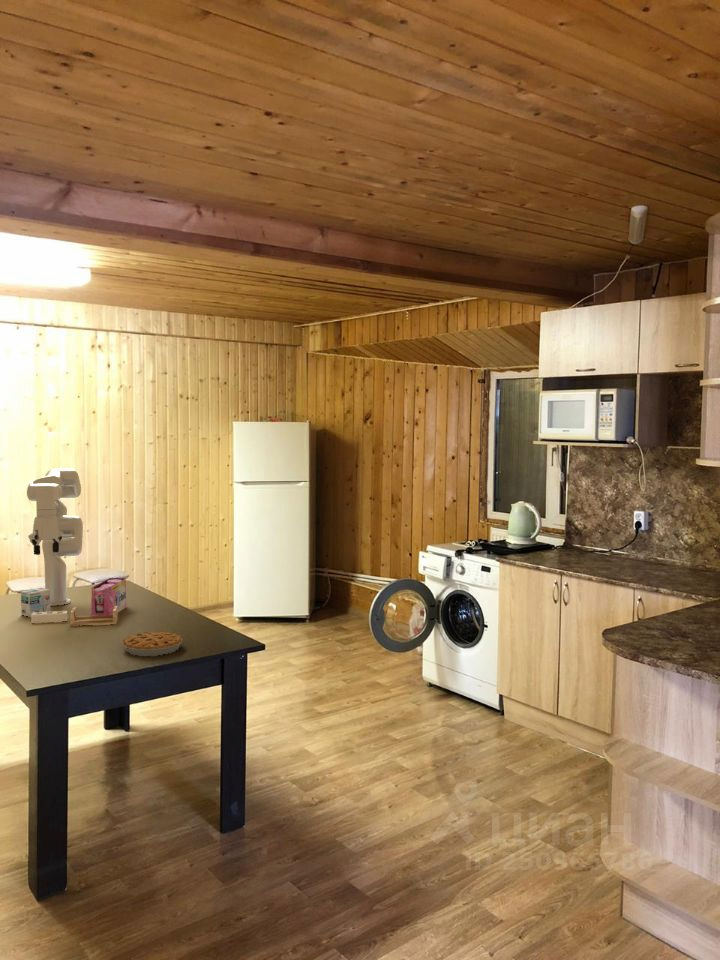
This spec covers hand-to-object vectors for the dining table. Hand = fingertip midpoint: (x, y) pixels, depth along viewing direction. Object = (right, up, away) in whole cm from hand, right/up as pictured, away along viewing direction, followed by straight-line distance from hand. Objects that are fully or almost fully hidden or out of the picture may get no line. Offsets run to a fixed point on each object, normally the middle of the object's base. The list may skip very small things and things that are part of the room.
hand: (46, 553), depth 339 cm
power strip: (+2, -29, -2) cm, 29 cm away
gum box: (+22, -28, +14) cm, 39 cm away
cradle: (+22, -29, -4) cm, 37 cm away
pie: (+56, -33, -42) cm, 78 cm away
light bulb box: (-9, -28, +10) cm, 31 cm away
